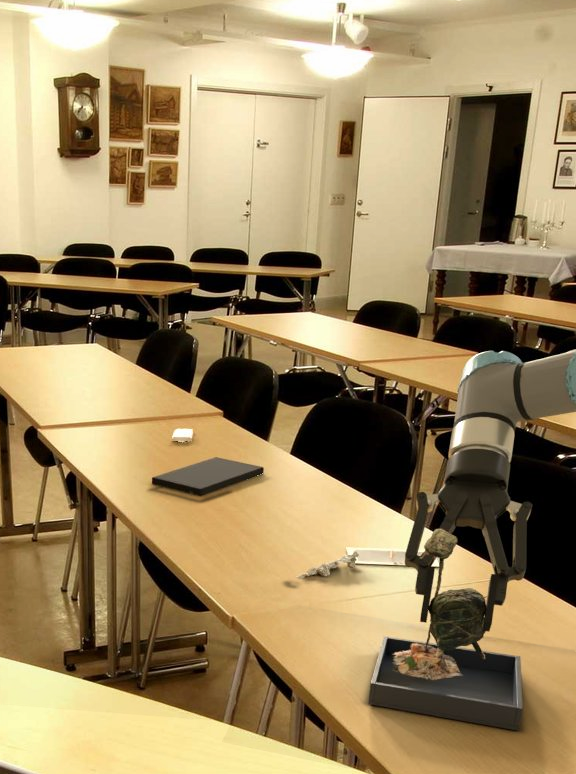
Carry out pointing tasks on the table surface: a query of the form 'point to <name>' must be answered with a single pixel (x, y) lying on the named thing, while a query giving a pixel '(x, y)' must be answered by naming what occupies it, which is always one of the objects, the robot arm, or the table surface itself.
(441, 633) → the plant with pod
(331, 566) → the lizard figurine
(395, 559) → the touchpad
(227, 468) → the dark grey flat slab
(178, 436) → the white flat block
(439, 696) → the tray
